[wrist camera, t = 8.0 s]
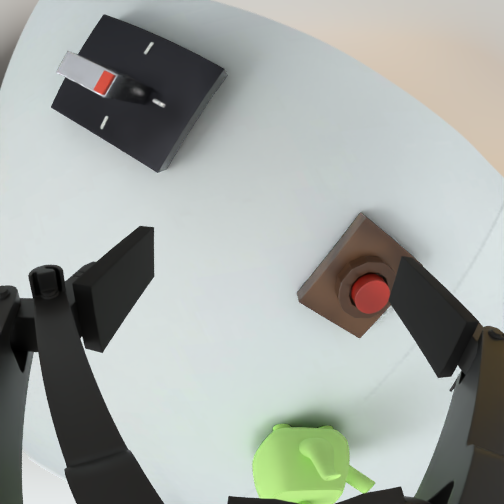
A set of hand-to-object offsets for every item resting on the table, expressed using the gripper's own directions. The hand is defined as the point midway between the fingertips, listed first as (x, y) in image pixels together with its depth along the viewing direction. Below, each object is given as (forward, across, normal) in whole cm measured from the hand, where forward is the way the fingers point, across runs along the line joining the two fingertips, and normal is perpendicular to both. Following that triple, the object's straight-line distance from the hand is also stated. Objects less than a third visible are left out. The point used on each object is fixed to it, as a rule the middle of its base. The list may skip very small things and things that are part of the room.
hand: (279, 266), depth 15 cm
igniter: (+18, +12, -8) cm, 23 cm away
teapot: (+18, +14, -40) cm, 46 cm away
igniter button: (+14, +12, -8) cm, 20 cm away
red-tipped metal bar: (+15, -16, +11) cm, 24 cm away
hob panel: (+18, -16, +11) cm, 26 cm away
